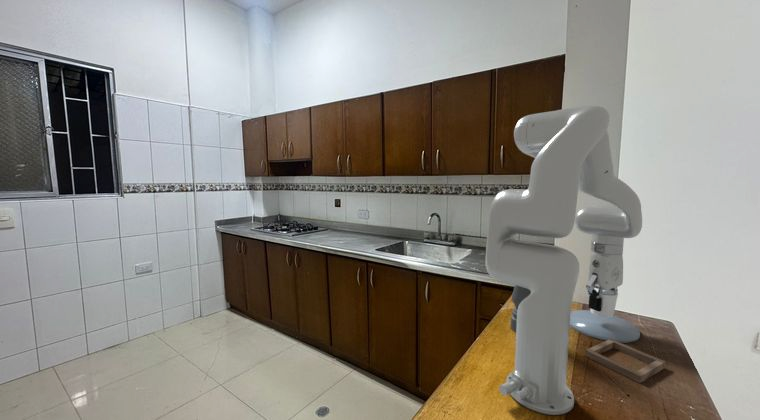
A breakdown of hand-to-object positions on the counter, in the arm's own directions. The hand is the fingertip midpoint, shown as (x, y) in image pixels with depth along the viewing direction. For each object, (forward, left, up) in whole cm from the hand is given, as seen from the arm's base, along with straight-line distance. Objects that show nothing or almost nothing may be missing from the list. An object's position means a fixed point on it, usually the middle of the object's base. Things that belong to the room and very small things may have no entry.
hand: (602, 306), depth 92 cm
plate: (0, 0, -6) cm, 6 cm away
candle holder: (-22, +10, -6) cm, 25 cm away
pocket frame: (-14, -13, -6) cm, 20 cm away
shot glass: (0, 0, -2) cm, 2 cm away
